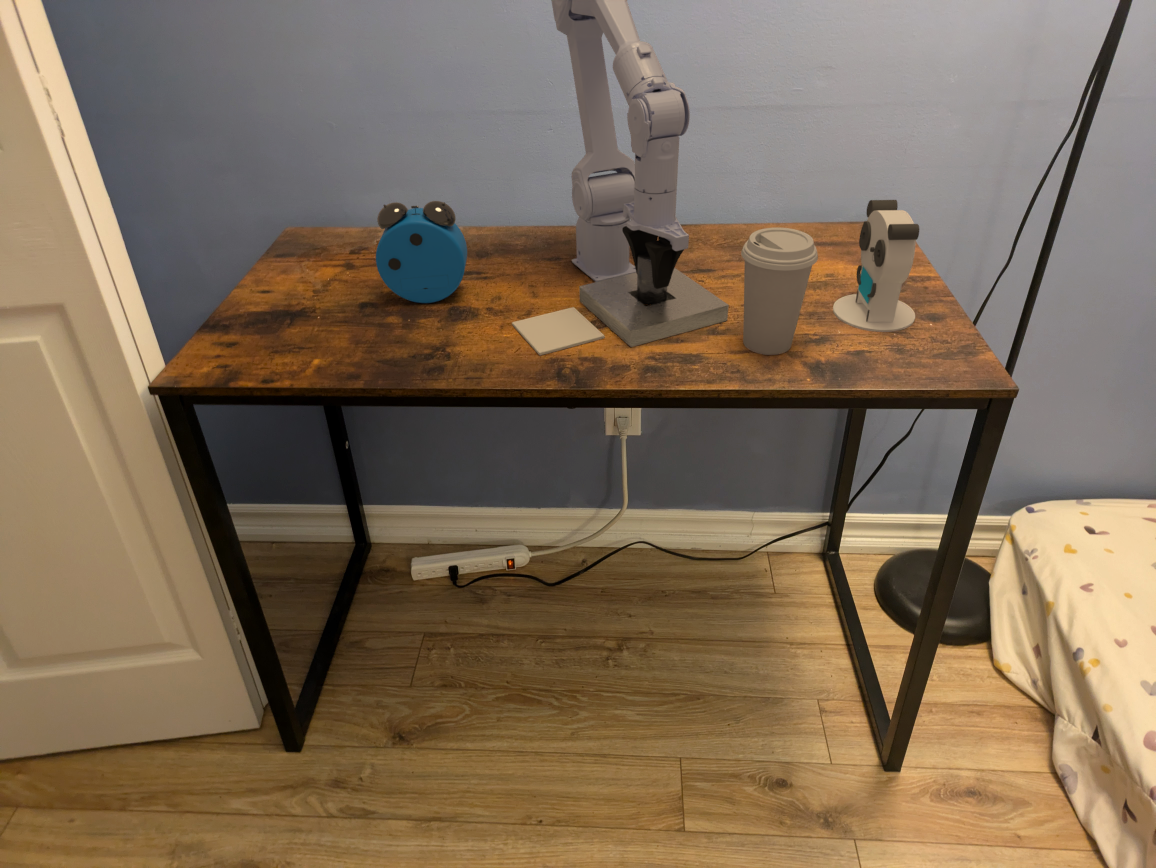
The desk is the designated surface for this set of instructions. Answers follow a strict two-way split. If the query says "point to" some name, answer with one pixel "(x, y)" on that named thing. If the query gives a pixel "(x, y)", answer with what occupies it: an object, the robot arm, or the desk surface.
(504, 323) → the desk surface
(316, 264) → the desk surface
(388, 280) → the alarm clock
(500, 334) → the desk surface
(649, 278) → the dark metal cylinder
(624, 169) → the robot arm
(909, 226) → the panda figurine
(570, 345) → the rubber pad
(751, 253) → the coffee cup
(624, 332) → the housing block
